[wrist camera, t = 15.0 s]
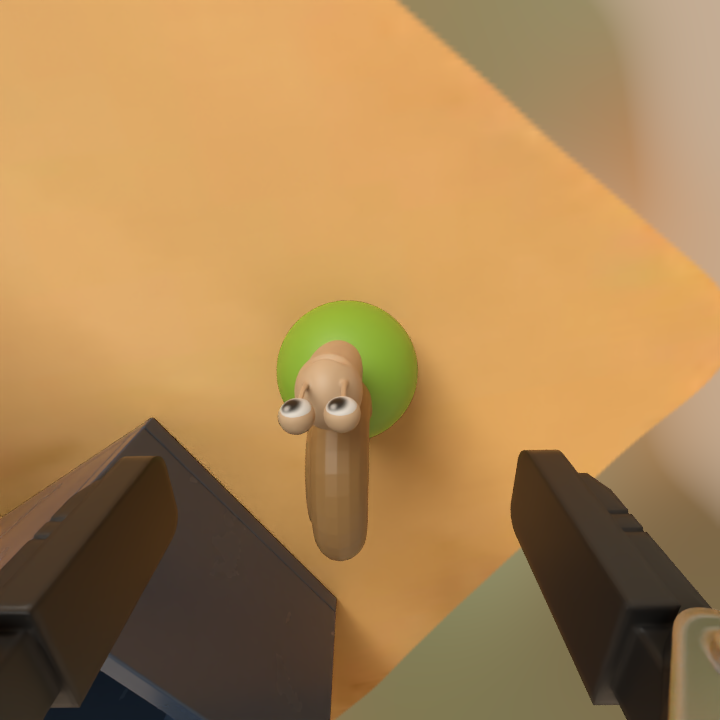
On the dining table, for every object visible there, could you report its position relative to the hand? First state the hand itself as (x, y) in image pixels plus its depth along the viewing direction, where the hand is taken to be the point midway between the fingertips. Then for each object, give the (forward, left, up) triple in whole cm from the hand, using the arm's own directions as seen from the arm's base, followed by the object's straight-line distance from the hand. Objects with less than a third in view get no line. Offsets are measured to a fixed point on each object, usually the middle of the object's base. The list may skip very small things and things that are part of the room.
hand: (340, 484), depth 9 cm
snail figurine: (0, 0, -10) cm, 10 cm away
